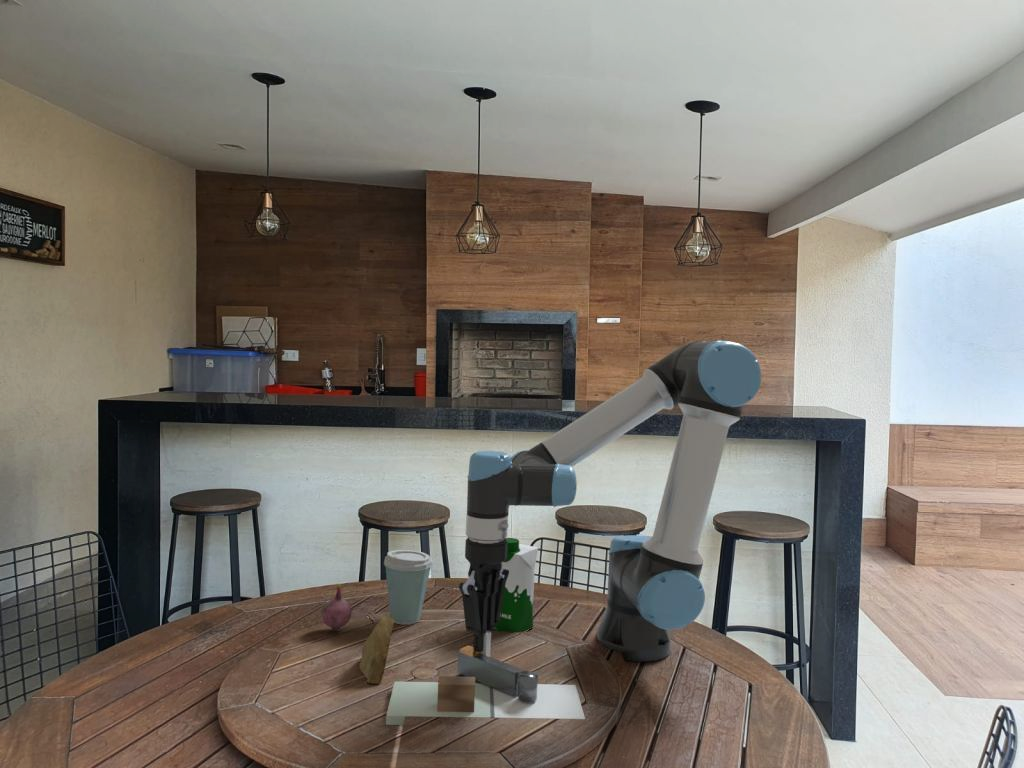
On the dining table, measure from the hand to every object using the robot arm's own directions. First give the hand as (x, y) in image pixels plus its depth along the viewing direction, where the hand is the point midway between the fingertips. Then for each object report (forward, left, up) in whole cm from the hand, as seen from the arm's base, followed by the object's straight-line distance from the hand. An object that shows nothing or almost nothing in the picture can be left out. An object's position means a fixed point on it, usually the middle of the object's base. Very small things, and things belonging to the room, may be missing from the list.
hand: (481, 666), depth 134 cm
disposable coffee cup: (+16, -30, -3) cm, 34 cm away
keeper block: (+4, +12, -2) cm, 13 cm away
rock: (+20, -4, -3) cm, 21 cm away
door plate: (-1, +9, -3) cm, 10 cm away
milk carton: (-7, -26, -3) cm, 27 cm away
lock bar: (-3, +5, -1) cm, 6 cm away
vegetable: (+30, -23, -3) cm, 38 cm away
